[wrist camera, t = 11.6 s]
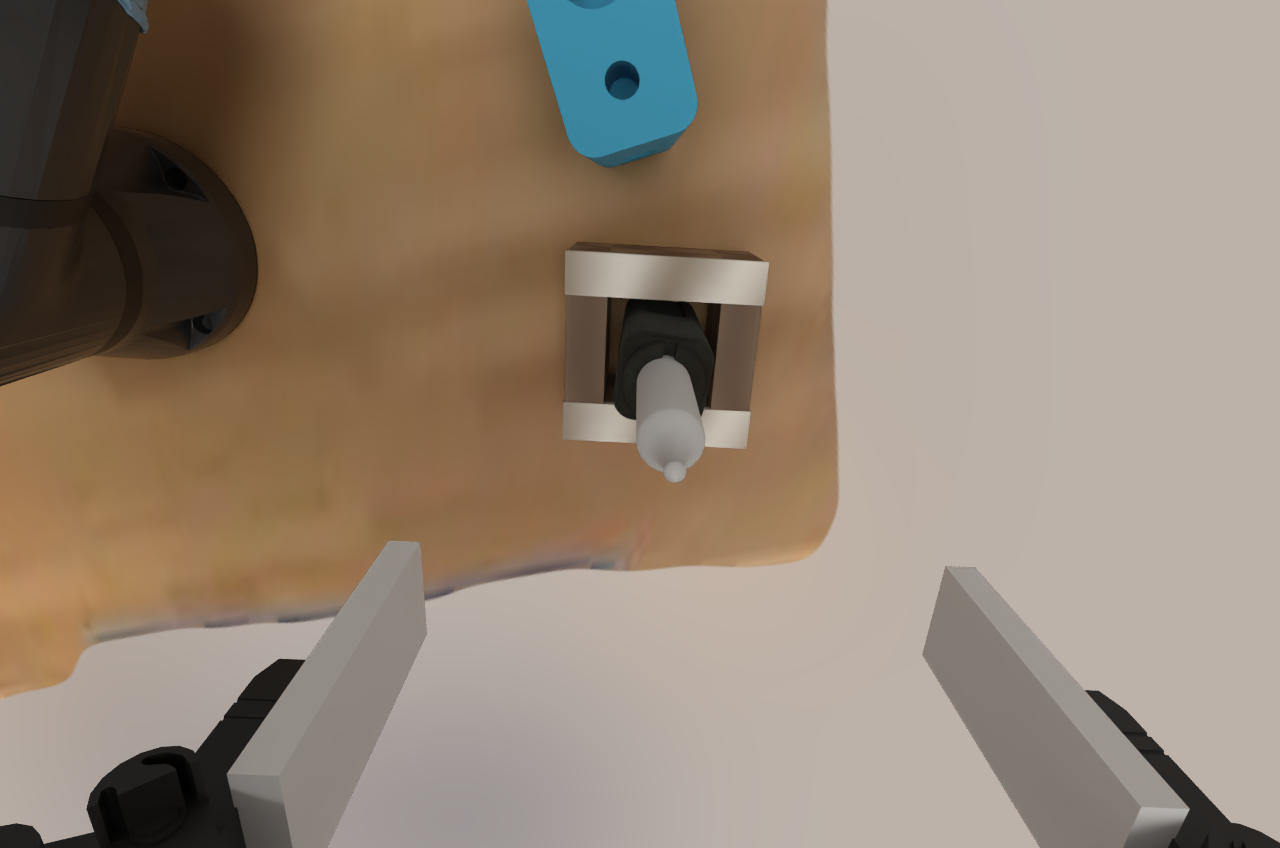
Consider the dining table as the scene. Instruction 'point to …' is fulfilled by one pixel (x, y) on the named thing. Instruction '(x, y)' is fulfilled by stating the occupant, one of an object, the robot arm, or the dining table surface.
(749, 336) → the holder
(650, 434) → the grey and black rod
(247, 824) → the robot arm
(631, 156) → the block
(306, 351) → the dining table surface
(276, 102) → the dining table surface
